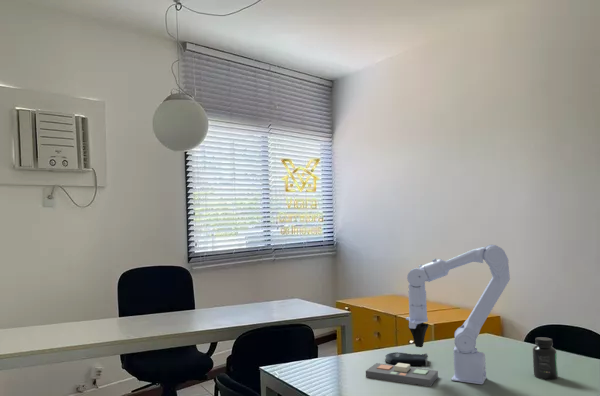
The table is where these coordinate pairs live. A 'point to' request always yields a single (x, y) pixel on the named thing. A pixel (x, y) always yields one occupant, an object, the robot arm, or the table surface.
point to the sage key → (421, 372)
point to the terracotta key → (385, 367)
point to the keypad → (402, 375)
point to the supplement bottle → (545, 359)
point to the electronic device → (406, 358)
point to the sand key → (402, 367)
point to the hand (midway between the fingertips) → (419, 346)
